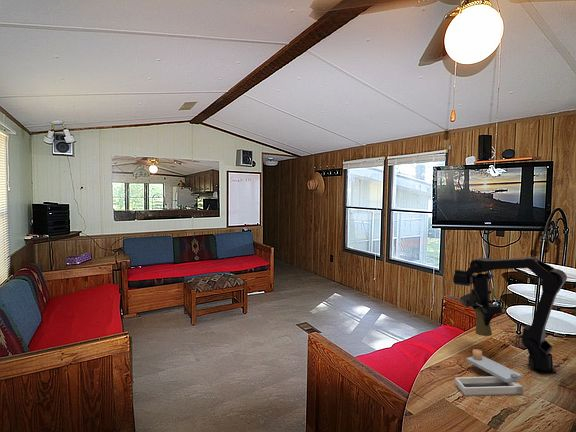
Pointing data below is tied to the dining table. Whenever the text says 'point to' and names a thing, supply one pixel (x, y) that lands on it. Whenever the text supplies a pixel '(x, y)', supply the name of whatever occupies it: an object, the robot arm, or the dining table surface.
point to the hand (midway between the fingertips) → (483, 323)
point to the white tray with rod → (487, 386)
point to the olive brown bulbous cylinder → (482, 324)
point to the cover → (493, 367)
